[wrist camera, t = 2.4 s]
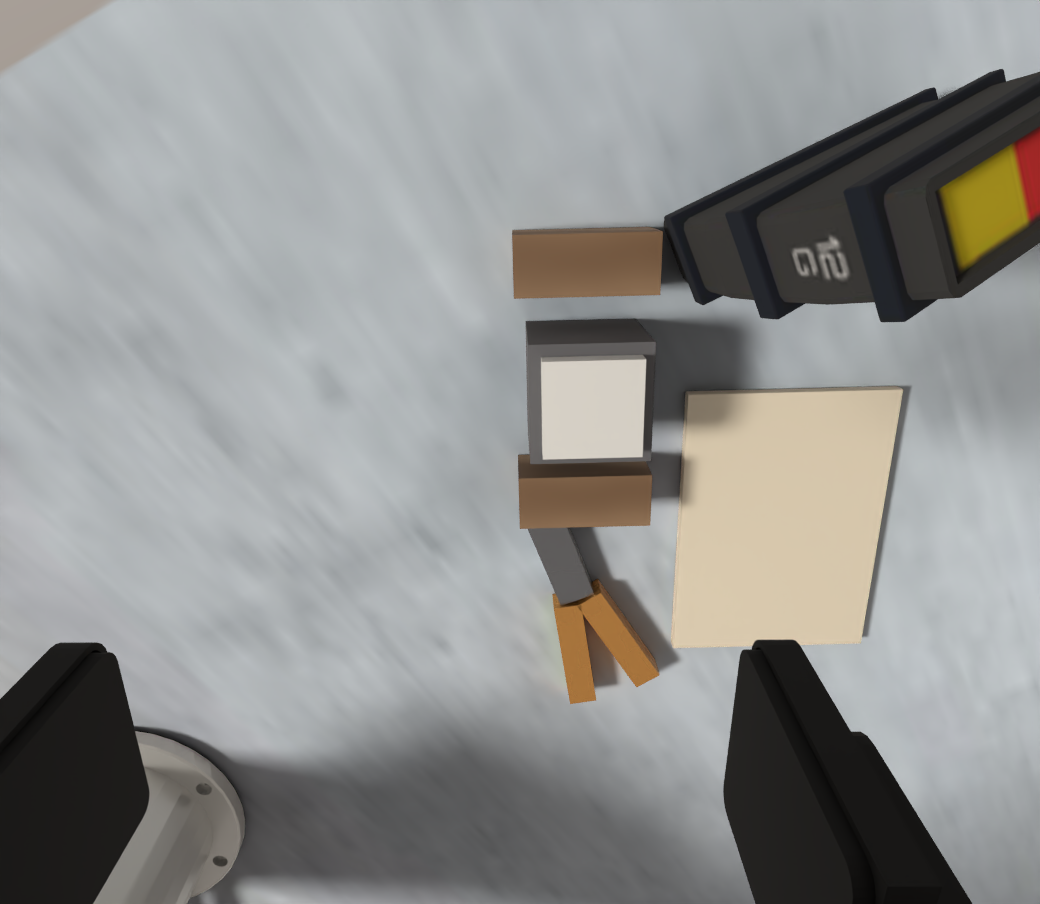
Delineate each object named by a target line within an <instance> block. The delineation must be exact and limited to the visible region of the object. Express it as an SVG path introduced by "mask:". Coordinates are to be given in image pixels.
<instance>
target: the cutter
mask: <svg viewBox="0 0 1040 904" xmlns="http://www.w3.org/2000/svg"><path fill="white" fill-rule="evenodd" d="M528 531H529V533H530V535H531V538H532V540H533V542H534V544H535V547H536V549H537V551H538V554H539V556H540V558H541V561H542V563H543V565H544V568H545V570H546V572H547V575H548V577H549V579H550V582H551V584H552V586H553V589H554V591H555V593H556V594H553V604H554V612H555V618H556V624H557V630H558V635H559V641H560V647H561V653H562V659H563V664H564V670H565V676H566V682H567V688H568V693H569V699H570V704H573V703H580V702H587V701H594V700H596V696H595V690H594V683H593V677H592V670H591V664H590V658H589V651H588V645H587V638H586V632H585V626H584V619H583V615H584V616H585V618H586V619H587V620H588V622H589V623H590V624H591V626H592V627H593V628H594V630H595V631H596V633H597V634H598V635H599V637H600V638H601V639H602V641H603V642H604V643H605V645H606V646H607V648H608V649H609V650H610V652H611V653H612V654H613V656H614V657H615V658H616V660H617V661H618V663H619V664H620V665H621V667H622V668H623V669H624V671H625V672H626V673H627V675H628V676H629V678H630V679H631V680H632V682H633V683H634V684H635V686H636V687H638V686H640V685H642V684H644V683H646V682H647V681H649V680H651V679H653V678H655V677H657V676H659V672H658V668H657V665H656V662H655V659H654V657H653V656H652V654H651V653H650V652H649V650H648V649H647V647H646V646H645V644H644V643H643V642H642V640H641V639H640V637H639V636H638V635H637V633H636V632H635V630H634V629H633V628H632V626H631V625H630V623H629V622H628V621H627V619H626V618H625V616H624V615H623V614H622V612H621V611H620V609H619V608H618V606H617V605H616V604H615V602H614V601H613V599H612V598H611V597H610V595H609V594H608V592H607V591H606V590H605V588H604V587H603V585H602V584H601V583H600V581H599V580H598V579H596V580H595V581H593V582H591V579H590V577H589V574H588V572H587V569H586V567H585V564H584V562H583V559H582V557H581V555H580V552H579V550H578V547H577V545H576V542H575V540H574V537H573V535H572V533H571V530H570V528H569V527H568V528H529V529H528Z"/></svg>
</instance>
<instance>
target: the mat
mask: <svg viewBox="0 0 1040 904" xmlns="http://www.w3.org/2000/svg"><path fill="white" fill-rule="evenodd" d="M902 394H903V389H901V388H899V387H898V386H880V387H840V388H801V389H761V390H721V391H686V394H685V411H684V428H683V445H682V462H681V479H680V496H679V513H678V530H677V547H676V564H675V581H674V599H673V616H672V633H671V643H672V646H673V648H695V647H734V646H753V644H754V642H755V641H756V640H795V641H797V642H798V644H799V645H812V644H851V643H861V639H862V633H863V627H864V621H865V615H866V609H867V603H868V597H869V591H870V585H871V579H872V573H873V567H874V561H875V555H876V549H877V543H878V537H879V531H880V525H881V519H882V513H883V507H884V501H885V495H886V489H887V483H888V477H889V471H890V465H891V459H892V453H893V447H894V441H895V436H896V430H897V424H898V418H899V412H900V406H901V400H902Z"/></svg>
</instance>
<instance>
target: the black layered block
mask: <svg viewBox="0 0 1040 904" xmlns="http://www.w3.org/2000/svg"><path fill="white" fill-rule="evenodd" d="M664 219H665V220H664V229H665V231H666V234H667V237H668V239H669V242H670V245H671V247H672V250H673V253H674V255H675V258H676V261H677V263H678V266H679V269H680V271H681V274H682V276H683V279H684V280H685V281H686V282H688V283H689V286H690V289H691V291H692V294H693V297H694V299H695V301H696V302H697V303H699V304H702V305H705V304H707V303H709V302H711V301H713V300H715V299H717V298H719V297H721V296H727V297H730V298H739V299H749V300H755V303H756V306H757V309H758V312H759V315H760V317H761V318H768V319H780V318H781V317H783V316H785V315H786V314H788V313H790V312H792V311H793V310H795V309H797V308H798V307H800V306H802V305H803V304H805V303H810V304H847V303H867V302H875V305H876V308H877V312H878V315H879V318H880V321H881V322H905V321H907V320H908V319H910V318H911V317H913V316H914V315H916V314H917V313H919V312H920V311H921V310H923V309H924V308H926V307H927V306H929V305H930V304H932V303H933V302H935V301H936V300H937V299H945V298H960V297H962V296H964V295H965V294H967V293H968V292H969V291H971V290H972V289H974V288H975V287H977V286H978V285H979V284H981V283H982V282H984V281H985V280H987V279H988V278H990V277H991V276H992V275H994V274H995V273H997V272H998V271H1000V270H1001V269H1002V268H1004V267H1005V266H1007V265H1008V264H1010V263H1011V262H1013V261H1014V260H1015V259H1017V258H1018V257H1020V256H1021V255H1023V254H1024V253H1025V252H1027V251H1028V250H1030V249H1031V248H1033V247H1034V246H1036V245H1037V244H1038V243H1040V72H1037V73H1034V74H1031V75H1028V76H1024V77H1021V78H1017V79H1013V80H1010V81H1006V79H1005V75H1004V70H1003V69H999V70H996V71H993V72H989V73H988V74H986V75H984V76H982V77H980V78H978V79H976V80H974V81H973V82H971V83H969V84H967V85H965V86H963V87H961V88H959V89H957V90H956V91H954V92H952V93H950V94H948V95H946V96H944V97H942V98H941V99H939V100H938V97H937V93H936V89H935V88H930V89H926V90H924V91H921V92H919V93H917V94H915V95H913V96H911V97H909V98H907V99H905V100H903V101H901V102H899V103H897V104H895V105H893V106H891V107H889V108H886V109H884V110H882V111H880V112H878V113H876V114H874V115H872V116H870V117H868V118H866V119H864V120H862V121H860V122H858V123H856V124H854V125H852V126H849V127H847V128H845V129H843V130H841V131H839V132H837V133H835V134H833V135H831V136H829V137H827V138H825V139H823V140H821V141H819V142H817V143H814V144H812V145H810V146H808V147H806V148H804V149H802V150H800V151H798V152H796V153H794V154H792V155H790V156H788V157H786V158H784V159H782V160H779V161H777V162H775V163H773V164H771V165H769V166H767V167H765V168H763V169H761V170H759V171H757V172H755V173H753V174H751V175H749V176H747V177H745V178H742V179H740V180H738V181H736V182H734V183H732V184H730V185H728V186H726V187H724V188H722V189H720V190H718V191H716V192H714V193H712V194H710V195H707V196H705V197H703V198H701V199H699V200H697V201H695V202H693V203H691V204H689V205H687V206H685V207H683V208H681V209H679V210H677V211H675V212H672V213H670V214H668V215H666V216H665V217H664Z"/></svg>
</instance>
